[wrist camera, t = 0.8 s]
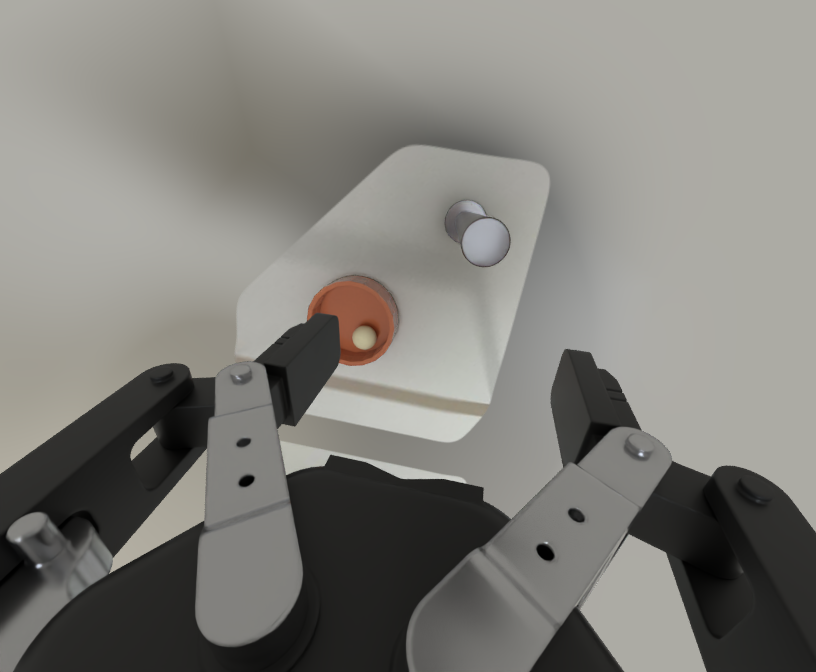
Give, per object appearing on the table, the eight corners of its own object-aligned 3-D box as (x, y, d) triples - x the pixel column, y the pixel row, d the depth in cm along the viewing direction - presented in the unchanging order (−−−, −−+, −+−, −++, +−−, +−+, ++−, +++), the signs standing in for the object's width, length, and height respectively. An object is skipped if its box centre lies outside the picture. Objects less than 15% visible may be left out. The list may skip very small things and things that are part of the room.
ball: (354, 323, 48) (347, 330, 45) (377, 321, 47) (372, 329, 44) (357, 345, 49) (351, 353, 46) (380, 343, 49) (375, 352, 46)
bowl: (311, 278, 47) (299, 284, 44) (393, 272, 46) (388, 278, 42) (325, 355, 51) (315, 367, 47) (402, 352, 49) (398, 364, 46)
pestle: (444, 202, 42) (433, 195, 17) (484, 198, 41) (537, 184, 16) (446, 243, 44) (440, 293, 19) (485, 240, 43) (535, 287, 18)
